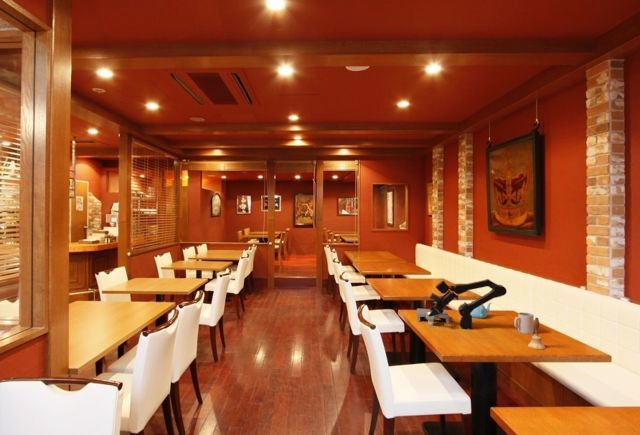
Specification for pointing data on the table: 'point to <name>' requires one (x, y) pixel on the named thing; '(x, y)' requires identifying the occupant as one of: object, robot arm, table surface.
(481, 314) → the teapot
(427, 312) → the grey beige cylinder
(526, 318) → the mug
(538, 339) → the hand bell
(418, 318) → the base
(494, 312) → the table surface
